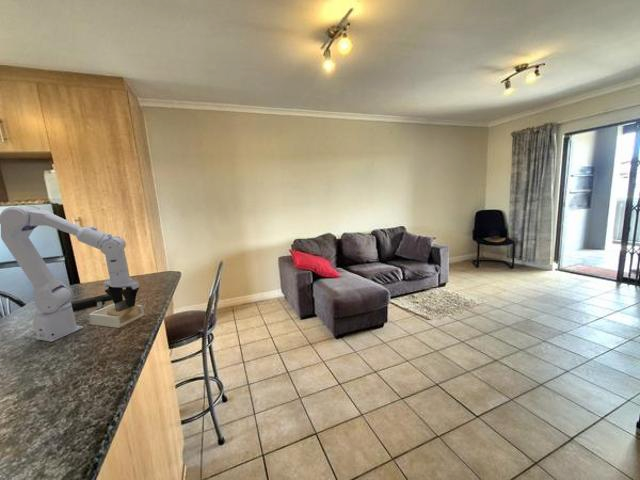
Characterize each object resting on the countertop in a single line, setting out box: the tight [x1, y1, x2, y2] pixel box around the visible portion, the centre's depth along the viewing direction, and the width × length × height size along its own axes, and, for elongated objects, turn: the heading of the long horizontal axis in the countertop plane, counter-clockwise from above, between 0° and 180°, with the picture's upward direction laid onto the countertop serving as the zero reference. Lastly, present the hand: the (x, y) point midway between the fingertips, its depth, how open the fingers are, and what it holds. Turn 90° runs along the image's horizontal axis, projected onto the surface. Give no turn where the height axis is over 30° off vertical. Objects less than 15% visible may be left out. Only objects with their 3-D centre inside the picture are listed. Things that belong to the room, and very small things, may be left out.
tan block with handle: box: [106, 299, 139, 323], centre depth 99 cm, size 7×6×7 cm
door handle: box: [71, 293, 113, 313], centre depth 115 cm, size 3×20×16 cm
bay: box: [87, 303, 145, 329], centre depth 101 cm, size 10×14×4 cm
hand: (125, 305), depth 99 cm, fingers open, 5 cm apart
